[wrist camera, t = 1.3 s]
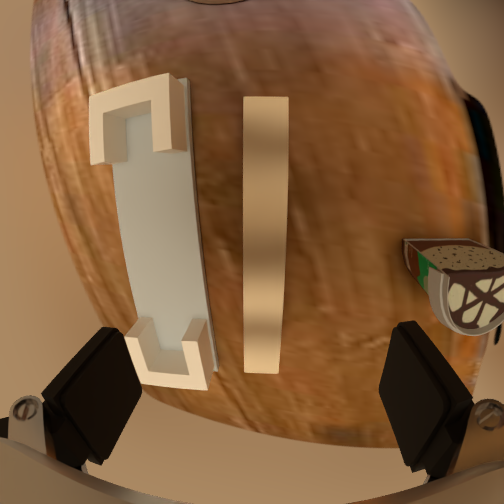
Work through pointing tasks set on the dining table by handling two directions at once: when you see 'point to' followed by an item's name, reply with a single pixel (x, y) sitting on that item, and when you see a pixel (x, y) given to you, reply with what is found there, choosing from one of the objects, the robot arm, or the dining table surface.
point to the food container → (459, 281)
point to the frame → (158, 226)
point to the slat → (264, 229)
